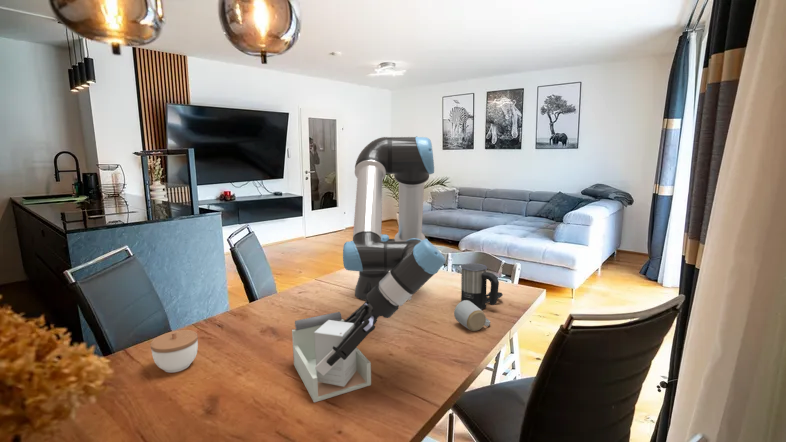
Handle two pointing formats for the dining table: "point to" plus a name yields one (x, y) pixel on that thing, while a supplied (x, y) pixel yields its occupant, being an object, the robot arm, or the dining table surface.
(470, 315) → the ceramic mug
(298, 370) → the tray
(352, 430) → the dining table surface
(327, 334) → the supplement box
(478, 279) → the milk frother
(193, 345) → the lidded jar
